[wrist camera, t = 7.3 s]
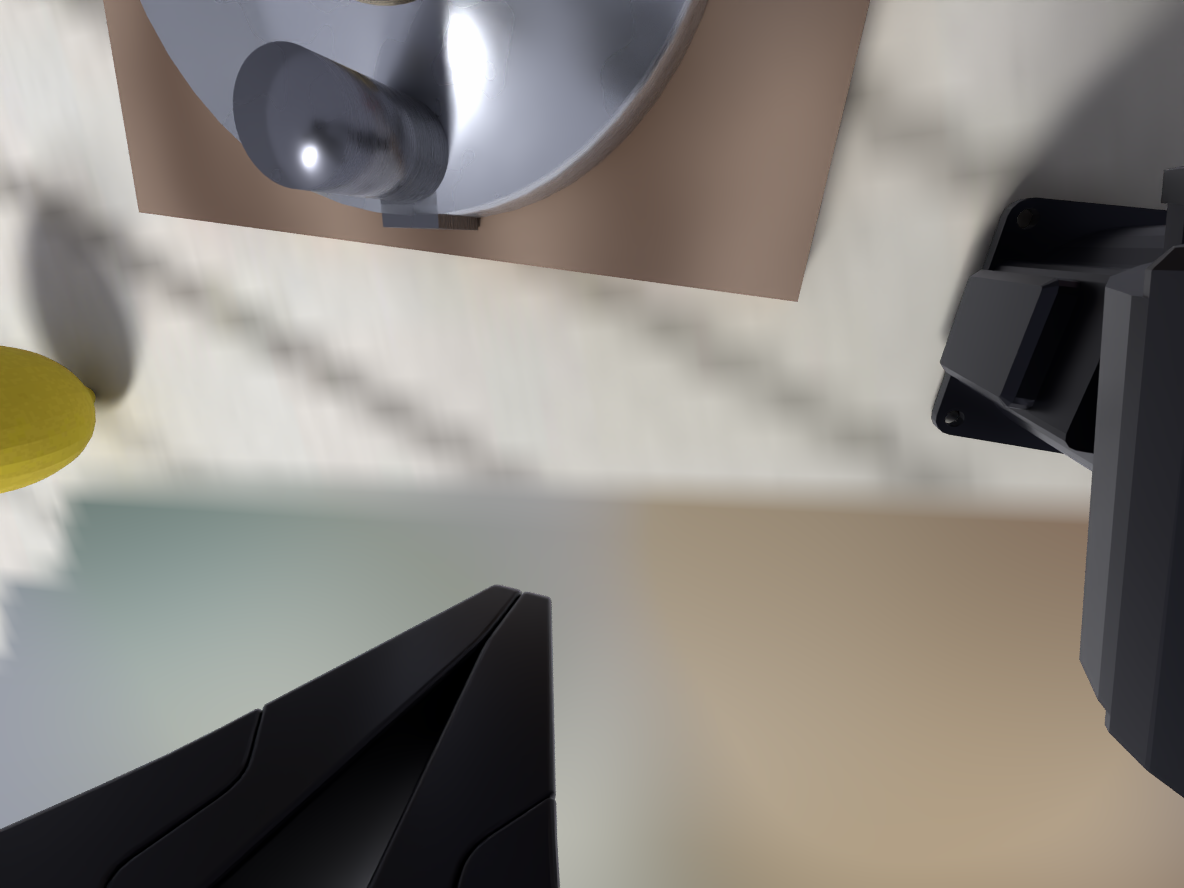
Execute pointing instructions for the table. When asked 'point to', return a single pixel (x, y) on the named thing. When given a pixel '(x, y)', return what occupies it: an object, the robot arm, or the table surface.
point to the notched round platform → (427, 93)
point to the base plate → (599, 198)
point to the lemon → (40, 417)
